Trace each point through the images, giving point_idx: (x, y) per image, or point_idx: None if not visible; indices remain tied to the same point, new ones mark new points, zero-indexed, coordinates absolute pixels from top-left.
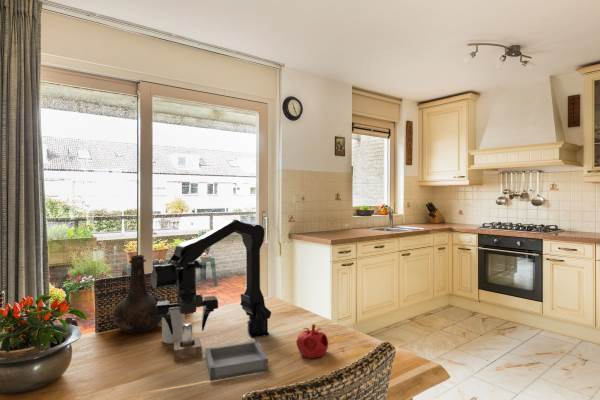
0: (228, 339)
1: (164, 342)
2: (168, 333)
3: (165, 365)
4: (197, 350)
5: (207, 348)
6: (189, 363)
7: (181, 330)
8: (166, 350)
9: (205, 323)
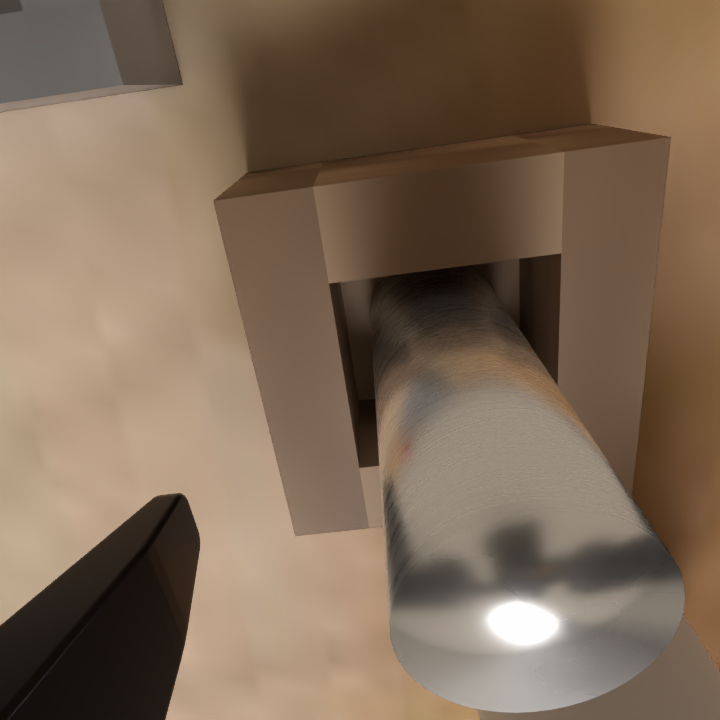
0: (33, 572)
1: None
2: (686, 670)
3: (716, 28)
4: (288, 181)
5: (82, 65)
6: (395, 10)
7: None
8: (652, 458)
9: (22, 610)
